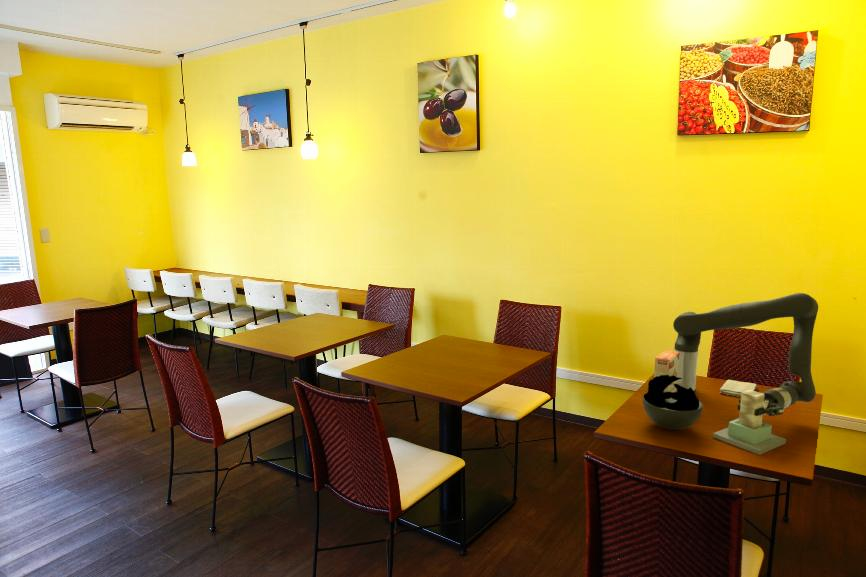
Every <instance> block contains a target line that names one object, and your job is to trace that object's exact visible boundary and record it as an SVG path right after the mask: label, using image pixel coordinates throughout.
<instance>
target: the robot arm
mask: <svg viewBox="0 0 866 577" xmlns="http://www.w3.org/2000/svg"><path fill="white" fill-rule="evenodd" d="M818 311H819V303H818V302H817V300H816V299H815V298H814V297H812V296H811V295H810V294H808V293H804V292H795V293H793V294H788V295H785V296H781V297H777V298H773V299H767V300H760V301H758V300H757V301H752V302H743V303H738V304H732V305H728V306H724V307H723V306H722V307H720V308H716V309H714V310H711V311H707V312H703V313H702V312H701V313H696V312H694V311H686V312H683V313H681V314H680V315H677V317H676V318H675V319H674V321H673V330H674V331H675V332H676V333H677V337H676V340H675V343H674V348H673V349H674V351H675V352H679V353H680V355H679V365H678V377H679V378H682V379H679V380H677V384H679V385H680V386H682V387H685V388H686V389H689V388H692V389H693V391H694V392H695V390H696V382H697V368H698V355H699V346H700V343H701V336H702V333H703V332H708V331H713V330H714V331H715V330H730V329H740V328H745V327H752V326H755V325H759V324H762V323H765V322H767V321H770V320H775V319H780V318H781V319H782V318H792V320H793V333H792V335H793V336H792V339H791V342H790V347H789V351H788V352H789V353H788V365H787V366H788V367H787V370H788V373H789V374H791V375H794V376H798V377H799V378H800V381H794V380H787V381H783V383H781V385H780V386H779V387H777V388H771V389H768V390H766V391H763V392H761V393H763V394H765V395H764V405H763V407H760V408H758V409H755V412H754V415H755V416H759V415H762V414H763V415H764V416H766V415H768V416H769V417H774V416H781V415H784V412H785V411H784V410H785V409H786V408H788V407H791V406H792V405H794V404H796V403H797V402H804V403H810V402H813V401H814V399H815V397H816V393H817V392H816V387H815V384H814V381H813V376H812V368H811V367H812V355H813V354H812V352H813V351H812V349H813V347H812V346H813V335H814V328H815V324H816V320H817V316H818ZM676 391H677V389H676ZM740 404H741V398H739V399H738V404H737V407H736V408H737V410H738V411H739V412H740Z"/></svg>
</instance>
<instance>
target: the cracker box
mask: <svg viewBox="0 0 866 577" xmlns="http://www.w3.org/2000/svg"><path fill="white" fill-rule="evenodd" d="M679 355H680V353H679V352H675V351H673V350H667V349H665V350H664V351H663V352H661V353H660V354H659V355H657V356H656V357H655V360H654V372H653V374H654V375H653V378H654V377H656V376H658V377H659V376H660V375H669V376H672V375H674V376H676V377H678V365H679ZM673 384H677V381H674V382H672V383H671V384H670V385H669V386H668V387H667V388H666V389H665V390H664V392H677V390H676V388H675V387H674V385H673Z"/></svg>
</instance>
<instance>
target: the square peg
mask: <svg viewBox="0 0 866 577" xmlns="http://www.w3.org/2000/svg"><path fill="white" fill-rule="evenodd" d="M764 395H765V394H763V393H762V392H760V391H759V392H758V391H756V390H755V391H752V390H747V391H744V392H742V393H741V404H740V411H739V415H738V416H739V417H738V418H739V424H740V425H743V426H746V427H749V428H752V429H757V428H760V427H761V426H762V422H763V417H764V416H763V414H762V415H759V416H755V415H754V412H755V409H758V408H760V407H763V405H764Z"/></svg>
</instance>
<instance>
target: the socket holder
mask: <svg viewBox="0 0 866 577" xmlns="http://www.w3.org/2000/svg"><path fill="white" fill-rule="evenodd" d="M772 427H773V425H772V424H769V423H766V422H763V421H762V426H761V427H760V428H757V429H752V428H749V427H746V426H743V425H740V424H739V417H738V418H735V419H733V420H731V421H729V422H728V427H726V428H723V429H721V430H718V431H716V432H712V438H714V439H715V440H716V439H717V440H719V441H721V442H724V443H727V444H730V445H732V446H734V447H738V448H739V449H742V450H745V451H747V452H751V453H753V454H756V455H758V456H760V455H763V454H765V453H767V452H769V451H771V450H774V449H776V448H778V447H780V446H783V445H785V444H786V442H787V438H783V437H780V436H778V435H775V434H772Z"/></svg>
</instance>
